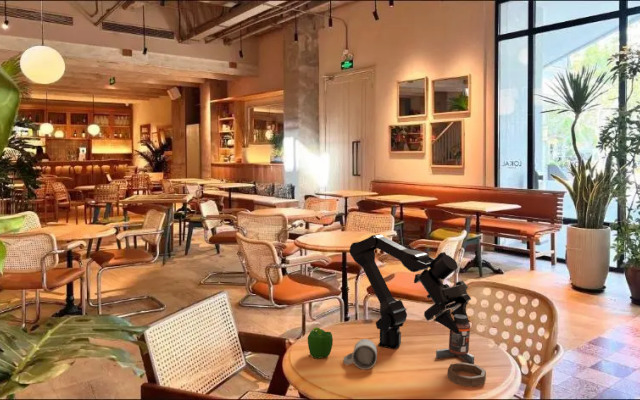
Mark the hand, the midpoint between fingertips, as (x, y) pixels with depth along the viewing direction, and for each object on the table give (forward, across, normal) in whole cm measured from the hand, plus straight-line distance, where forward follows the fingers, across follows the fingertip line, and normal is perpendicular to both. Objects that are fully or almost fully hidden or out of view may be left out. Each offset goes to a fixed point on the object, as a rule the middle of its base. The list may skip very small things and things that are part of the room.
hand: (463, 330), depth 157 cm
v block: (+5, +8, +14) cm, 17 cm away
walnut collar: (+12, -4, +6) cm, 14 cm away
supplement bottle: (+4, 0, +6) cm, 7 cm away
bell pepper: (-17, -24, +37) cm, 47 cm away
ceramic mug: (-8, -19, +27) cm, 34 cm away
